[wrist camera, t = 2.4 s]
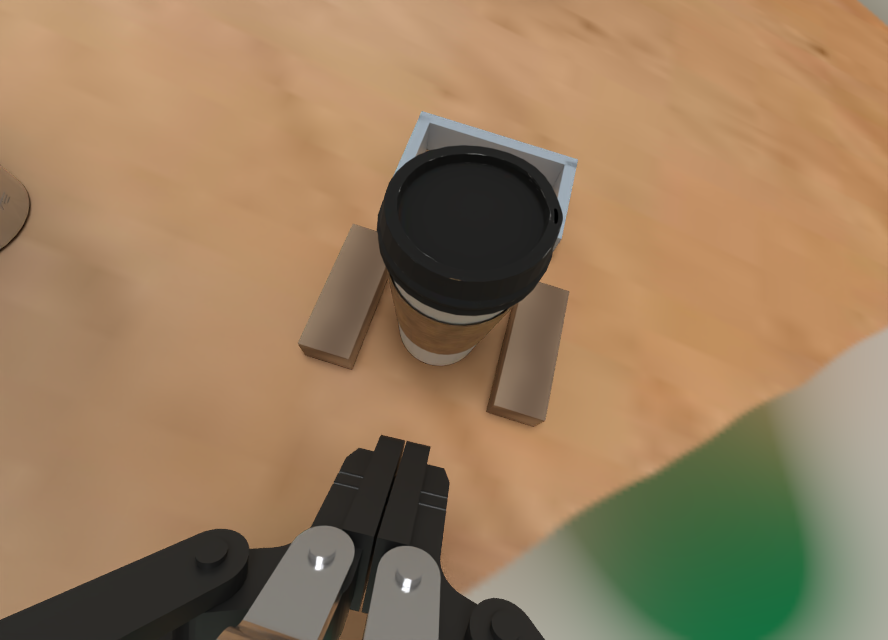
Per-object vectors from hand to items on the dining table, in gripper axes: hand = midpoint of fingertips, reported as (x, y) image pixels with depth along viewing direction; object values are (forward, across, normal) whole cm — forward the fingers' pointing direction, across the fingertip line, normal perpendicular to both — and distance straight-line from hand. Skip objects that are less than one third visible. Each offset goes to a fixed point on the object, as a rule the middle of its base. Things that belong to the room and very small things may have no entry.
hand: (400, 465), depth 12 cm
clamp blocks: (+20, 0, +3) cm, 20 cm away
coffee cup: (+20, 0, +3) cm, 20 cm away
